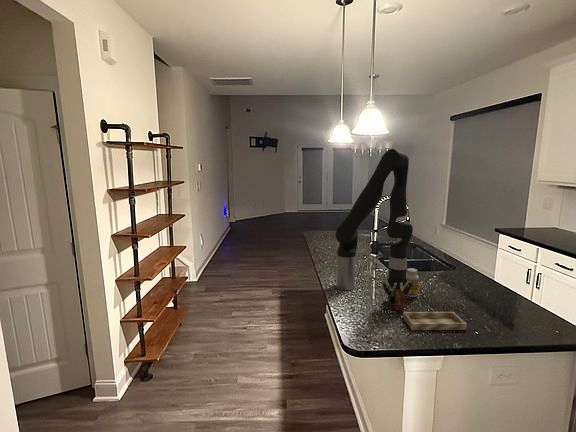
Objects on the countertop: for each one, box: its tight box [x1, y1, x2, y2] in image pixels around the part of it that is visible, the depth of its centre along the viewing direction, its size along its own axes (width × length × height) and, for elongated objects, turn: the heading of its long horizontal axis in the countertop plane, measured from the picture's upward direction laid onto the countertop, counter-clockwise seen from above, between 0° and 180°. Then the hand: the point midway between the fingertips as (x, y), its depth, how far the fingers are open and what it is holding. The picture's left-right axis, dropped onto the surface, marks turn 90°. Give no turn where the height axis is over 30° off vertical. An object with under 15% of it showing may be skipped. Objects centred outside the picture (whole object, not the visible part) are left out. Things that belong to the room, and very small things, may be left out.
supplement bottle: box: [403, 267, 420, 298], centre depth 157 cm, size 7×7×13 cm
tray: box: [402, 311, 468, 331], centre depth 130 cm, size 21×10×2 cm, turn 89°
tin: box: [386, 285, 407, 311], centre depth 145 cm, size 15×3×8 cm, turn 4°
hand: (395, 303), depth 146 cm, fingers closed on tin, 2 cm apart
